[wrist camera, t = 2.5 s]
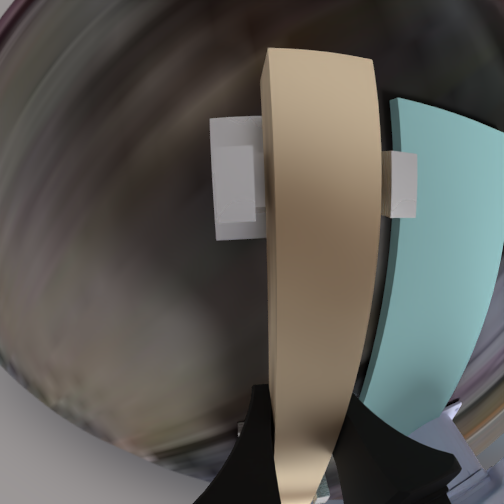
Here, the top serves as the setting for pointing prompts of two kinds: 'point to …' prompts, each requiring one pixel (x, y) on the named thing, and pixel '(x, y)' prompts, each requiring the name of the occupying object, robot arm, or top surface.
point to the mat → (437, 264)
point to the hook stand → (253, 182)
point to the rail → (317, 249)
